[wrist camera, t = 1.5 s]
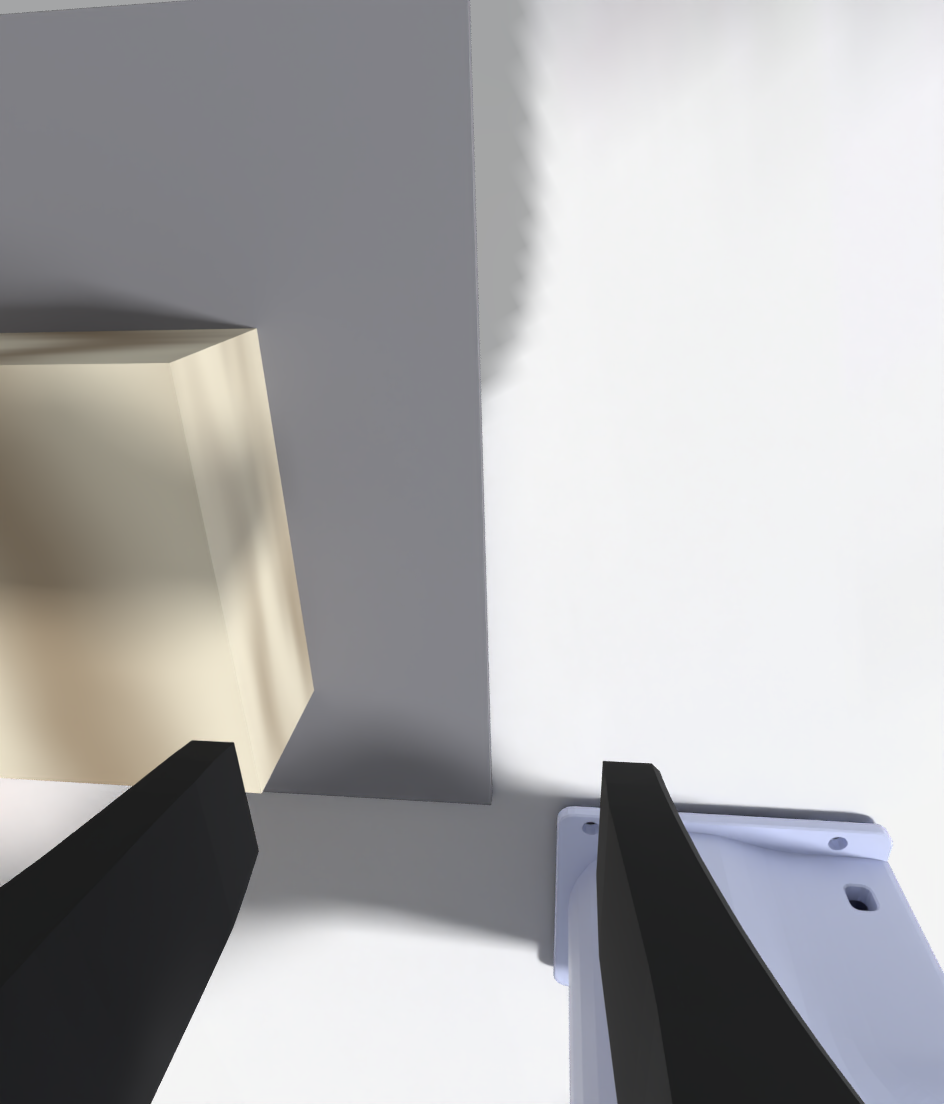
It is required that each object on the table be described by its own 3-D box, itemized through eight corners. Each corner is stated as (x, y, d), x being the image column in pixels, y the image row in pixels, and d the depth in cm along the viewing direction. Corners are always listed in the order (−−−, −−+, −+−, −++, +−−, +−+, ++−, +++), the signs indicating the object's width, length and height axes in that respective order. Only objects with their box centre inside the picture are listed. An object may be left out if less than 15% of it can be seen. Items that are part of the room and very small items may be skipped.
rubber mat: (469, -15, 13) (467, -21, 13) (492, 795, 22) (491, 804, 22) (-627, 66, 16) (-655, 62, 16) (-225, 754, 25) (-236, 762, 24)
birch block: (256, 328, 16) (169, 363, 12) (314, 690, 20) (261, 792, 17) (-65, 334, 17) (-233, 368, 13) (55, 679, 21) (-47, 774, 18)
